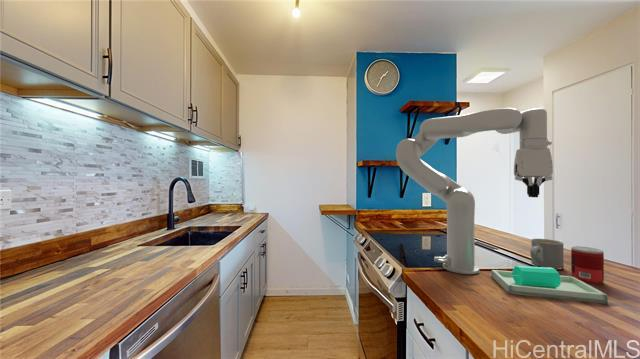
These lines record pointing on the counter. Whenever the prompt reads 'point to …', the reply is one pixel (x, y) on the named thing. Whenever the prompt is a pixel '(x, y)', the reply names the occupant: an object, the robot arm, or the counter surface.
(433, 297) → the counter surface
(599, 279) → the canned food
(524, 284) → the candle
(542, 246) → the coffee mug
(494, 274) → the tray
